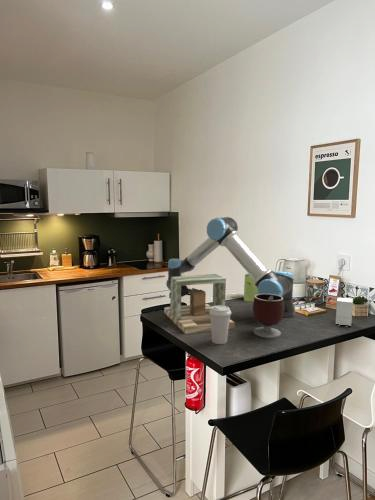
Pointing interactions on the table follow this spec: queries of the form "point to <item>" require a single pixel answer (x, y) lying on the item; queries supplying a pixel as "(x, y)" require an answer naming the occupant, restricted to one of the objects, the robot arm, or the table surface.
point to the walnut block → (197, 302)
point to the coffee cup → (219, 323)
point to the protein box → (249, 288)
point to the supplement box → (344, 311)
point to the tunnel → (182, 313)
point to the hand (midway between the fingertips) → (192, 298)
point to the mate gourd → (268, 314)
